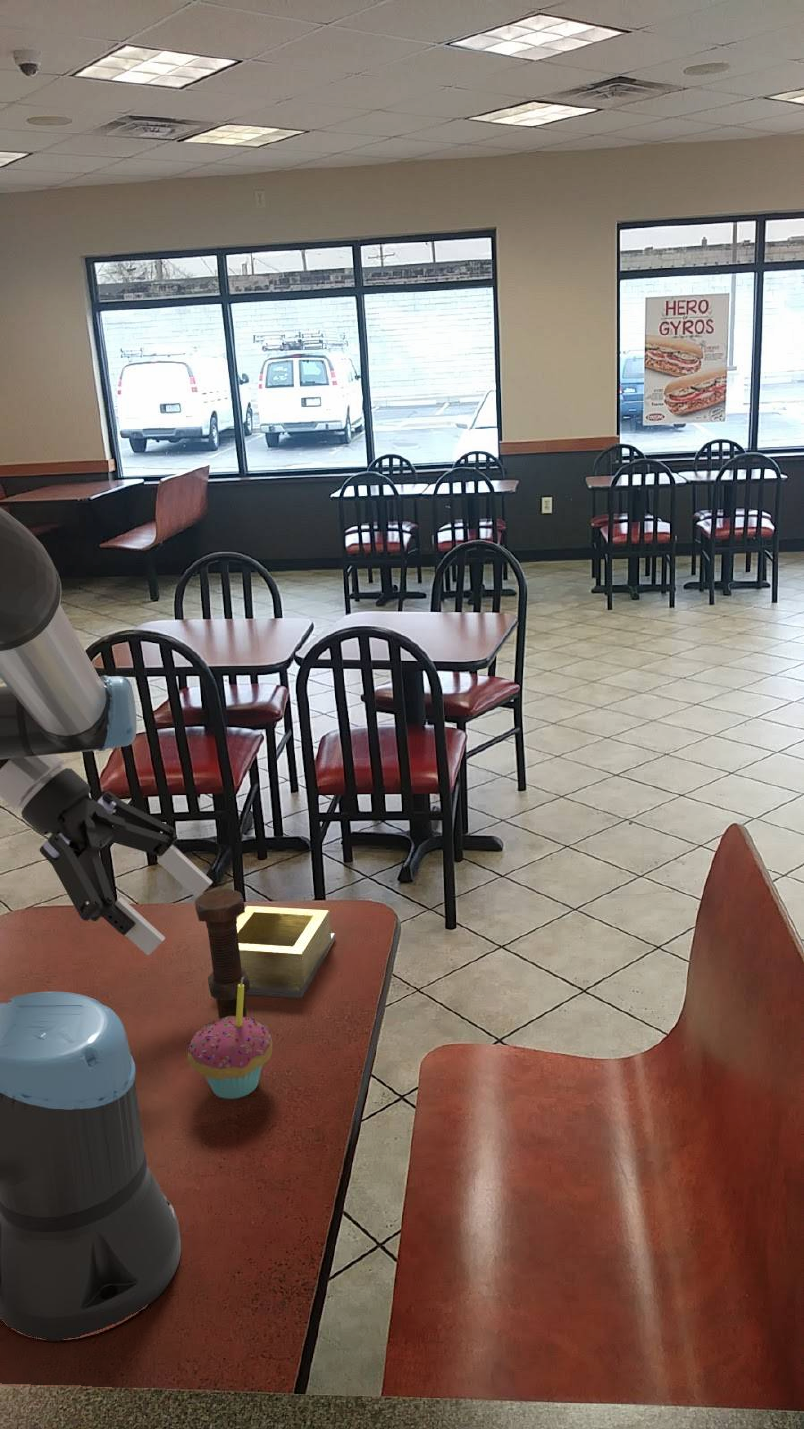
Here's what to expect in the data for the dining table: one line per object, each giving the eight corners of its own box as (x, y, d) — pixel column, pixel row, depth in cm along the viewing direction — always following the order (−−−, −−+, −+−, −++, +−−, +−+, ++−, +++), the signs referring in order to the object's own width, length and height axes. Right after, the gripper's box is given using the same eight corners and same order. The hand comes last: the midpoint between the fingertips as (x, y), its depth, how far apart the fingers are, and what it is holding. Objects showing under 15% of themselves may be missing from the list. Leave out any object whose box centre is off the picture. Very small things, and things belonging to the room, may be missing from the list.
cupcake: (261, 1052, 119) (250, 953, 115) (288, 1095, 112) (277, 990, 108) (183, 1077, 116) (169, 975, 112) (205, 1122, 108) (191, 1015, 105)
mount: (300, 998, 129) (297, 960, 127) (213, 991, 132) (208, 954, 130) (335, 940, 142) (332, 905, 140) (254, 935, 145) (251, 900, 143)
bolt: (207, 1009, 128) (192, 891, 123) (250, 1000, 129) (237, 883, 125) (214, 1036, 123) (199, 914, 118) (259, 1026, 124) (245, 905, 120)
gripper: (78, 771, 137) (204, 887, 138) (-40, 856, 114) (113, 995, 115) (112, 732, 134) (240, 850, 135) (-2, 810, 111) (154, 953, 112)
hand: (182, 917), depth 125 cm, fingers open, 13 cm apart
